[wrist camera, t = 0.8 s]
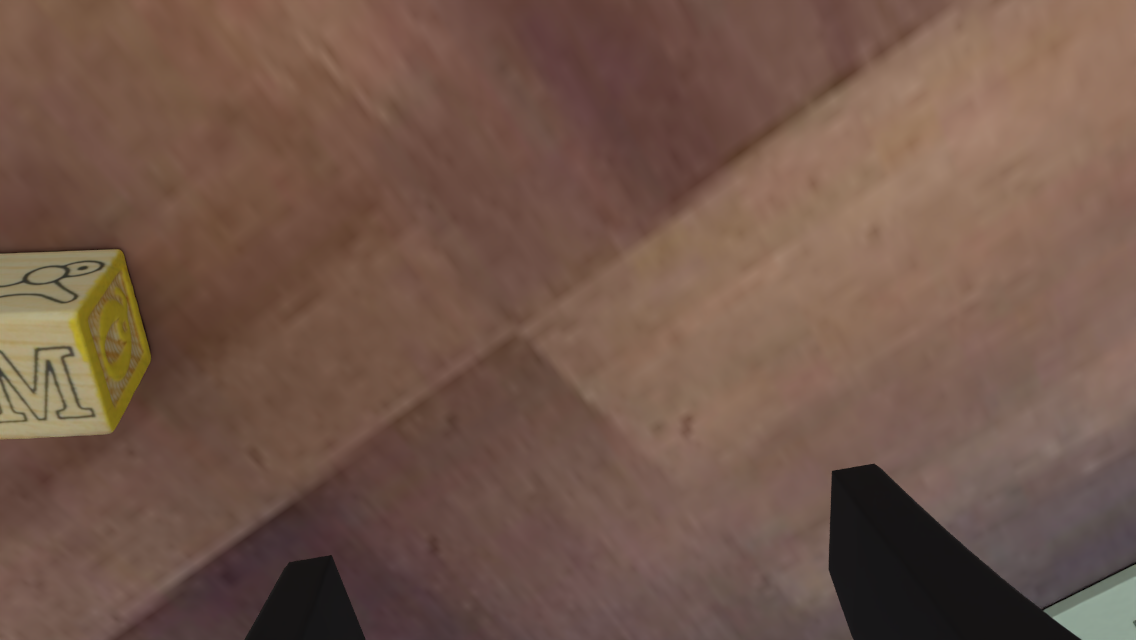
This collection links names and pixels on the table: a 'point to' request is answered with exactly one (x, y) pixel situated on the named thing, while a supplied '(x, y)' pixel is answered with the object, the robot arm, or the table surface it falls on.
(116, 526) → the table surface
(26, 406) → the alphabet block
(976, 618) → the robot arm
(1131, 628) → the word mat
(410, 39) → the table surface
